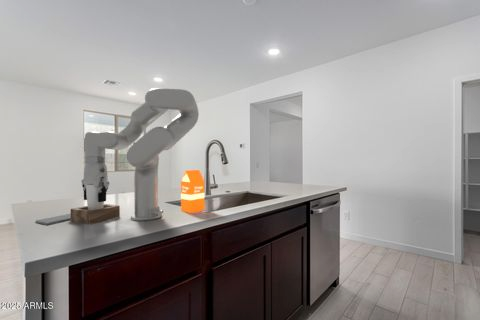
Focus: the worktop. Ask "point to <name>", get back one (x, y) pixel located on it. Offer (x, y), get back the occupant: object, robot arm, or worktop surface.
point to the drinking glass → (93, 198)
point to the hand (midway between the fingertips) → (94, 200)
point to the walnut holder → (95, 214)
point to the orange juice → (192, 191)
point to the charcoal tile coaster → (54, 219)
